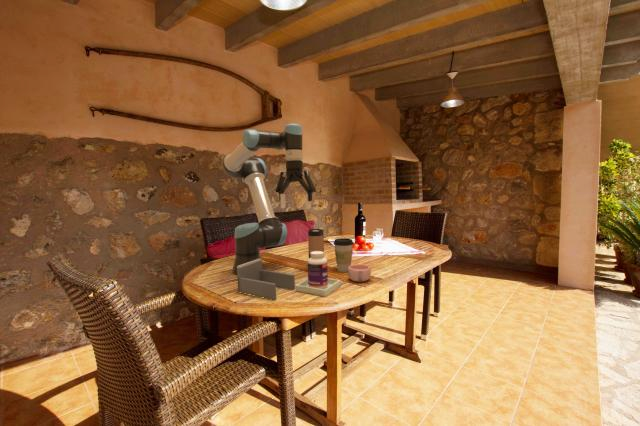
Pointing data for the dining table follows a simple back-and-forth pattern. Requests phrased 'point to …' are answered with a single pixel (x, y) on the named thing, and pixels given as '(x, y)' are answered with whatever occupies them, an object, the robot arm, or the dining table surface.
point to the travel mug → (315, 240)
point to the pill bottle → (317, 270)
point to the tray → (304, 288)
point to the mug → (359, 272)
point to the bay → (262, 280)
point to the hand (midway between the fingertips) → (295, 208)
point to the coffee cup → (343, 253)
